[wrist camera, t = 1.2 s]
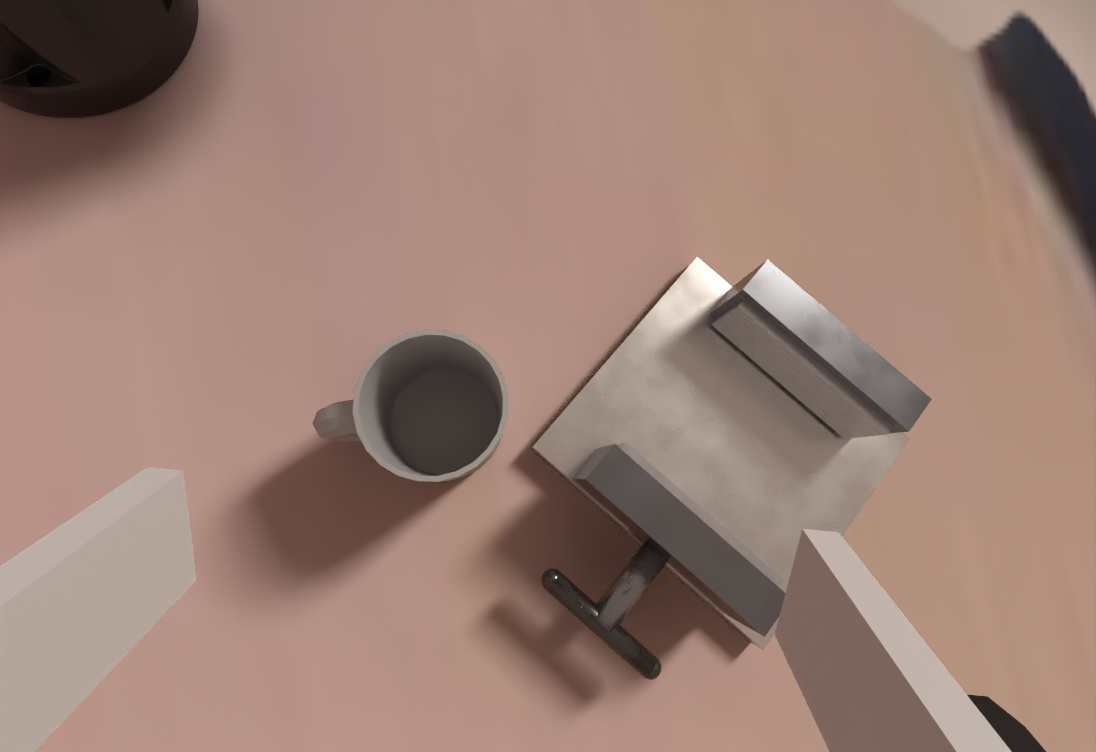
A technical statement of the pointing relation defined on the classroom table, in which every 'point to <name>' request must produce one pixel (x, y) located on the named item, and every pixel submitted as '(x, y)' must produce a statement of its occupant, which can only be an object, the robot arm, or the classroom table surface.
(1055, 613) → the classroom table surface
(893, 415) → the vise
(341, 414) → the cup
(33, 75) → the robot arm
